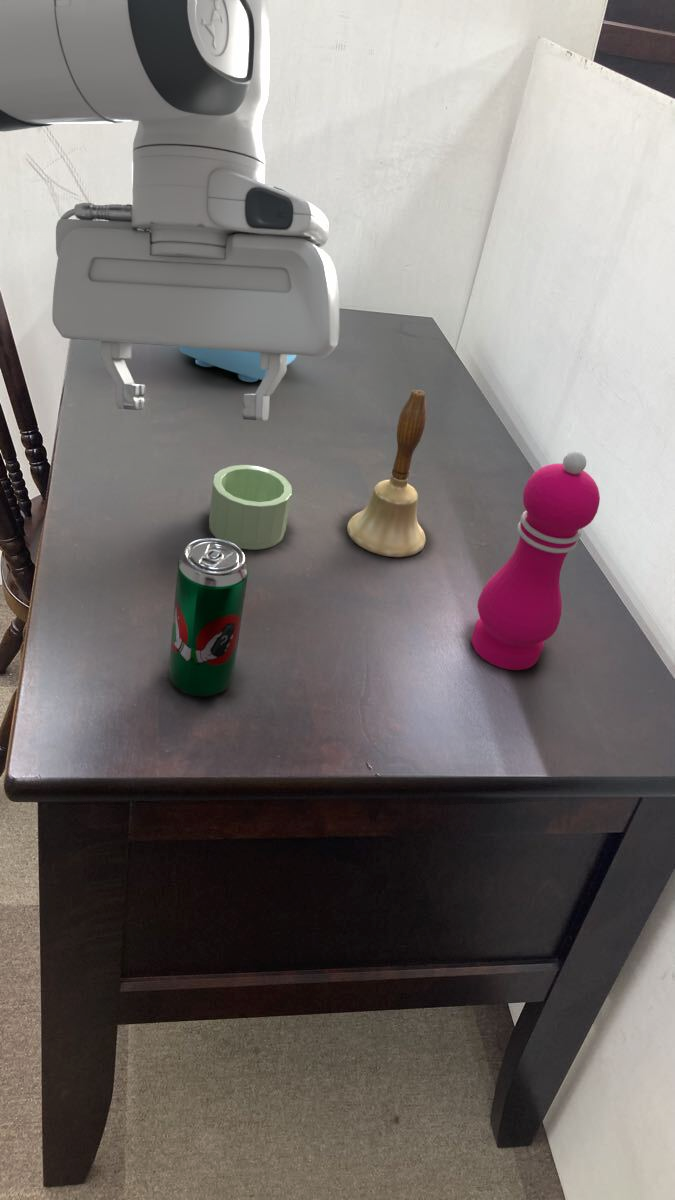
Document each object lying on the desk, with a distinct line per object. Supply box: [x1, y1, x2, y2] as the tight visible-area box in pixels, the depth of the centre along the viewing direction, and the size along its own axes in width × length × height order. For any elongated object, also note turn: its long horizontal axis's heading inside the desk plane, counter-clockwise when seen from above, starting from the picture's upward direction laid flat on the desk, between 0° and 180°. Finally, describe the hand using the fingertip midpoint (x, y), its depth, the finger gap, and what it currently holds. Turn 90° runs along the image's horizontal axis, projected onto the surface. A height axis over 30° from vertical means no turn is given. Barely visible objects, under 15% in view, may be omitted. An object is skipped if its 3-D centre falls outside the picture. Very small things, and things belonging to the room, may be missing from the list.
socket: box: [208, 464, 293, 551], centre depth 88 cm, size 8×8×5 cm
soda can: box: [168, 537, 249, 698], centre depth 67 cm, size 5×5×12 cm
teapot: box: [178, 347, 298, 383], centre depth 117 cm, size 18×16×14 cm
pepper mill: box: [471, 450, 601, 671], centre depth 75 cm, size 7×7×20 cm
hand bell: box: [346, 389, 427, 558], centre depth 88 cm, size 8×8×16 cm
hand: (192, 414), depth 64 cm, fingers open, 8 cm apart
